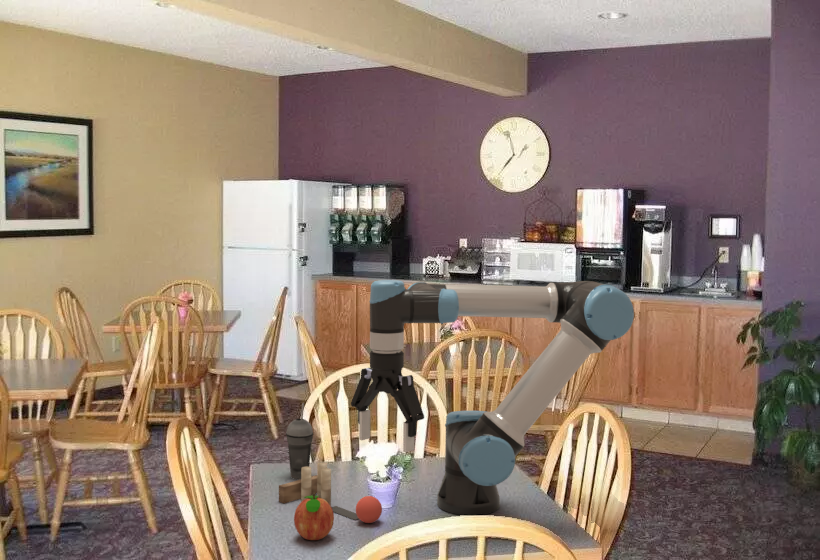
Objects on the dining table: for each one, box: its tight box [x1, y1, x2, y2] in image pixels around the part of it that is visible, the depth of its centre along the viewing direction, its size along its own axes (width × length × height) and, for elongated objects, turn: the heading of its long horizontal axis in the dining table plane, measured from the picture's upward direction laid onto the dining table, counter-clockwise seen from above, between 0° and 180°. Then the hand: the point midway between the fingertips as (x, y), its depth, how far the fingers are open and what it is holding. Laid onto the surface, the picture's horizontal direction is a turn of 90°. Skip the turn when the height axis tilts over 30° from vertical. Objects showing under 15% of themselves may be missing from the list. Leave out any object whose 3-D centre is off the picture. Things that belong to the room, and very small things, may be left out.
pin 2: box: [316, 461, 328, 498], centre depth 221 cm, size 2×2×9 cm
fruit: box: [293, 493, 335, 541], centre depth 196 cm, size 9×10×10 cm
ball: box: [355, 495, 383, 524], centre depth 206 cm, size 6×6×6 cm
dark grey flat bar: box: [331, 505, 360, 521], centre depth 212 cm, size 10×3×1 cm, turn 46°
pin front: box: [321, 467, 332, 507], centre depth 216 cm, size 2×2×9 cm
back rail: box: [278, 474, 317, 504], centre depth 223 cm, size 12×2×4 cm, turn 136°
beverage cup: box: [285, 402, 314, 480], centre depth 238 cm, size 7×7×20 cm
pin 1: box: [300, 466, 312, 503], centre depth 217 cm, size 2×2×9 cm
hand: (386, 444), depth 201 cm, fingers open, 13 cm apart
